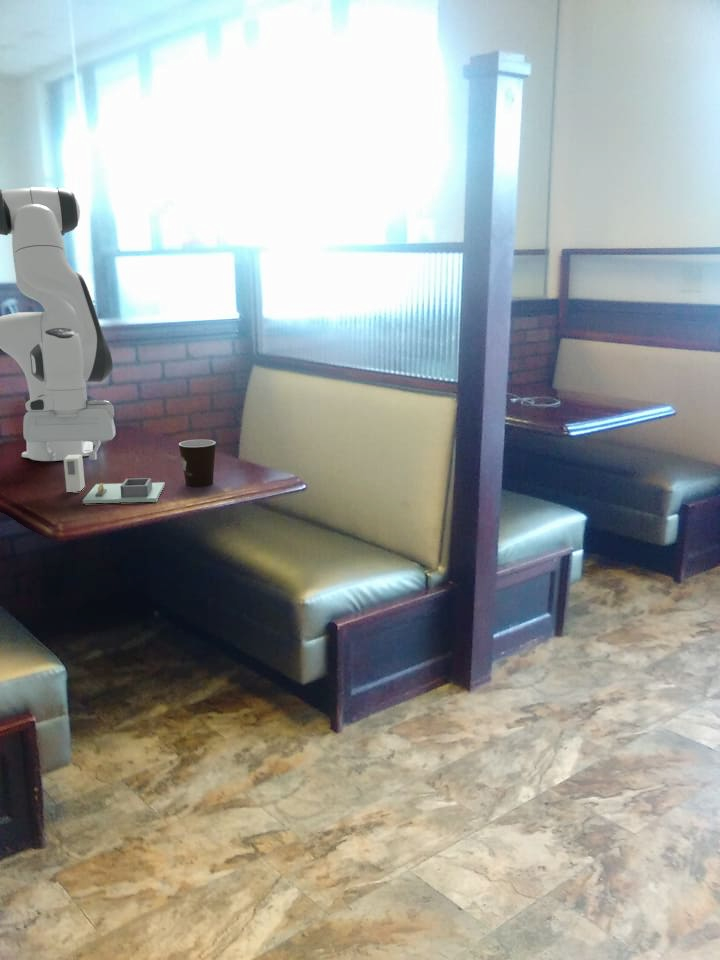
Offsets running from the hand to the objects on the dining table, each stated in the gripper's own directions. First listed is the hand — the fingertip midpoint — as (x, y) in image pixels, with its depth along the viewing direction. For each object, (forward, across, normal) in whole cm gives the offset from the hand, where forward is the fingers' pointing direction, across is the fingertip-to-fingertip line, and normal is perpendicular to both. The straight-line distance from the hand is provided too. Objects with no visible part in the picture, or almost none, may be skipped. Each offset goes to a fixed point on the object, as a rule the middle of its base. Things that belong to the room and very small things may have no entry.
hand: (72, 459), depth 203 cm
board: (+8, -12, +5) cm, 15 cm away
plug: (+7, 0, -1) cm, 7 cm away
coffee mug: (+8, -28, -5) cm, 30 cm away
